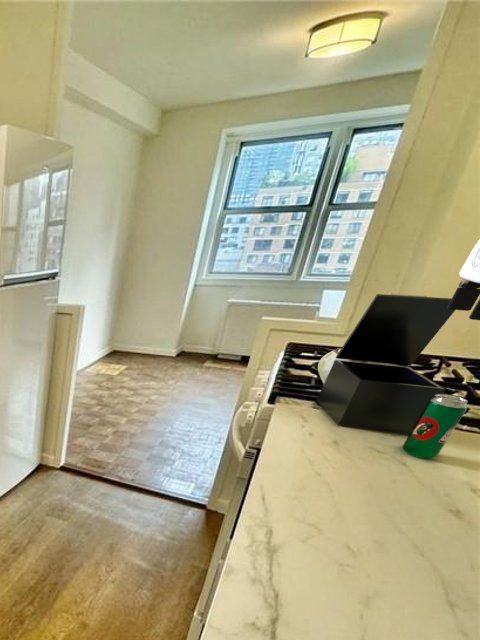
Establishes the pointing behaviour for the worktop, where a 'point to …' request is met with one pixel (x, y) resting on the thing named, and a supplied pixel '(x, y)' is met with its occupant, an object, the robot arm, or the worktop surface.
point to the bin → (376, 396)
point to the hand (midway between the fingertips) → (469, 314)
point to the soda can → (434, 426)
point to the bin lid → (396, 329)
